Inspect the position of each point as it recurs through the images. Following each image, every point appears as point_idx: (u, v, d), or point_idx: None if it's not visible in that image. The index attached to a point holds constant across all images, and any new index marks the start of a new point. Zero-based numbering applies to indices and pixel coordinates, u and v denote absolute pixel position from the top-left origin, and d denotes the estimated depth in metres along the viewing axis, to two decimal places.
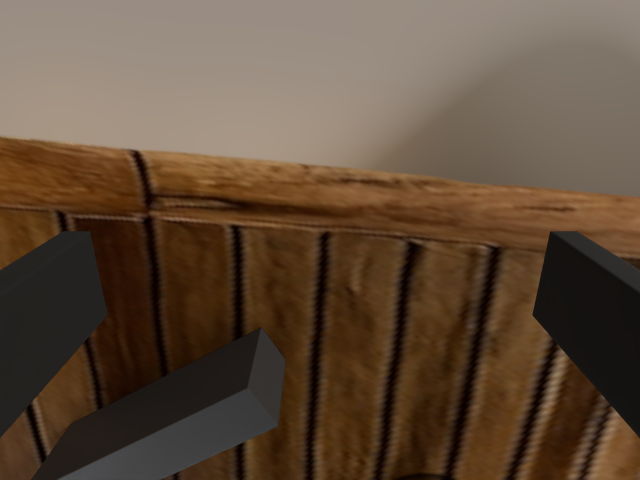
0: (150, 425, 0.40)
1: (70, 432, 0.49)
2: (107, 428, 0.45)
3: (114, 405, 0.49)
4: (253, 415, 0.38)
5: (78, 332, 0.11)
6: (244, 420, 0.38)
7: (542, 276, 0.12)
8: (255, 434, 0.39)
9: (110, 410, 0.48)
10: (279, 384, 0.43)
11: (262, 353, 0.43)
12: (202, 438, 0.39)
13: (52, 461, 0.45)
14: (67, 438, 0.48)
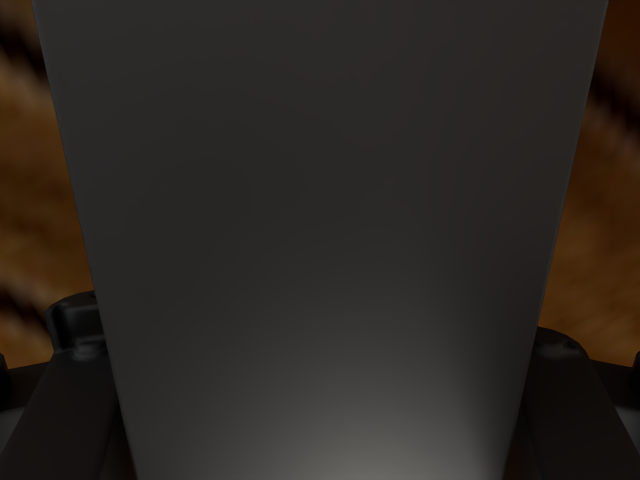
0: None
1: None
2: None
3: None
4: None
5: None
6: None
7: None
8: None
9: None
10: None
11: None
12: (297, 355, 0.05)
13: None
14: None
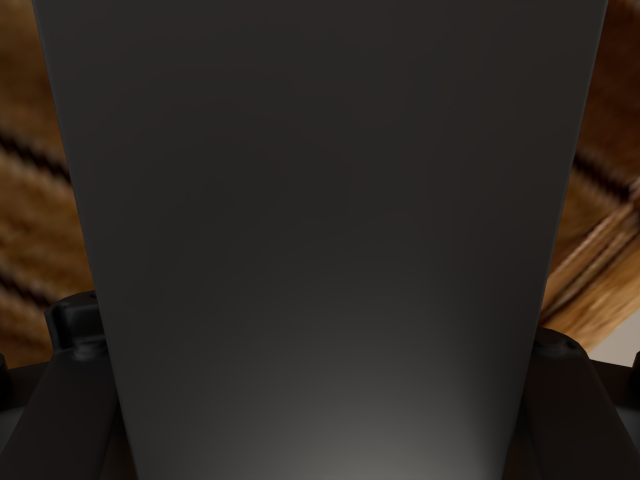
0: None
1: None
2: None
3: None
4: None
5: None
6: None
7: None
8: None
9: None
10: None
11: None
12: (297, 355, 0.05)
13: None
14: None
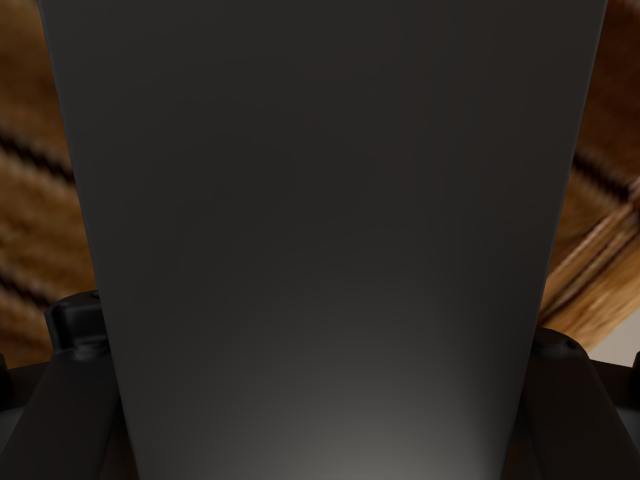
0: None
1: None
2: None
3: None
4: None
5: None
6: None
7: None
8: None
9: None
10: None
11: None
12: (297, 354, 0.05)
13: None
14: None
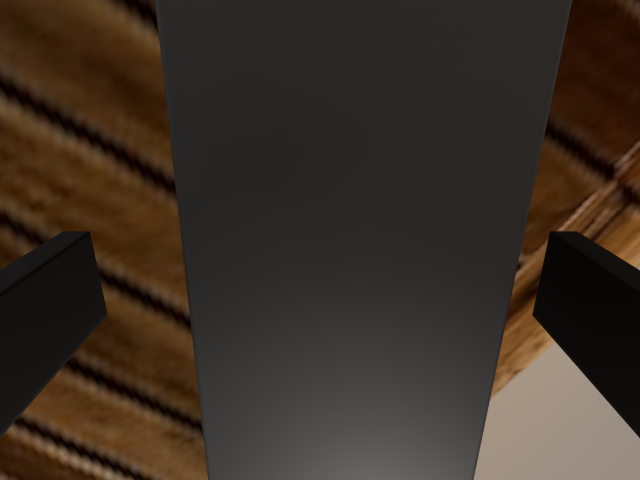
0: None
1: None
2: None
3: None
4: None
5: (78, 332, 0.11)
6: (319, 449, 0.08)
7: (542, 275, 0.12)
8: (216, 448, 0.08)
9: None
10: None
11: None
12: (333, 212, 0.06)
13: None
14: None
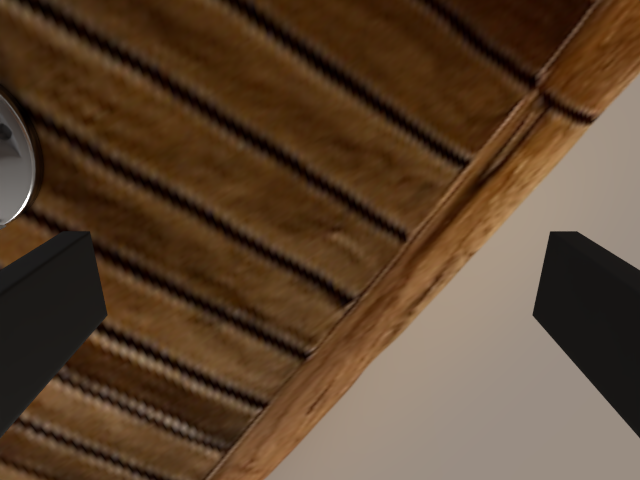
0: None
1: None
2: None
3: None
4: None
5: (78, 332, 0.11)
6: None
7: (542, 275, 0.12)
8: None
9: None
10: None
11: None
12: None
13: None
14: None
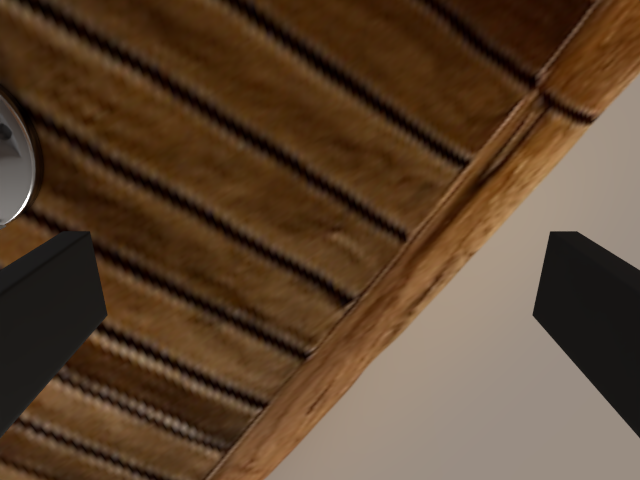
0: None
1: None
2: None
3: None
4: None
5: (78, 332, 0.11)
6: None
7: (542, 275, 0.12)
8: None
9: None
10: None
11: None
12: None
13: None
14: None
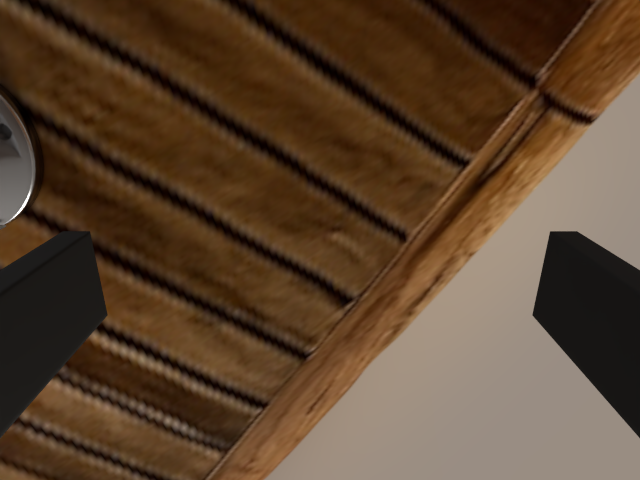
0: None
1: None
2: None
3: None
4: None
5: (78, 332, 0.11)
6: None
7: (542, 275, 0.12)
8: None
9: None
10: None
11: None
12: None
13: None
14: None
